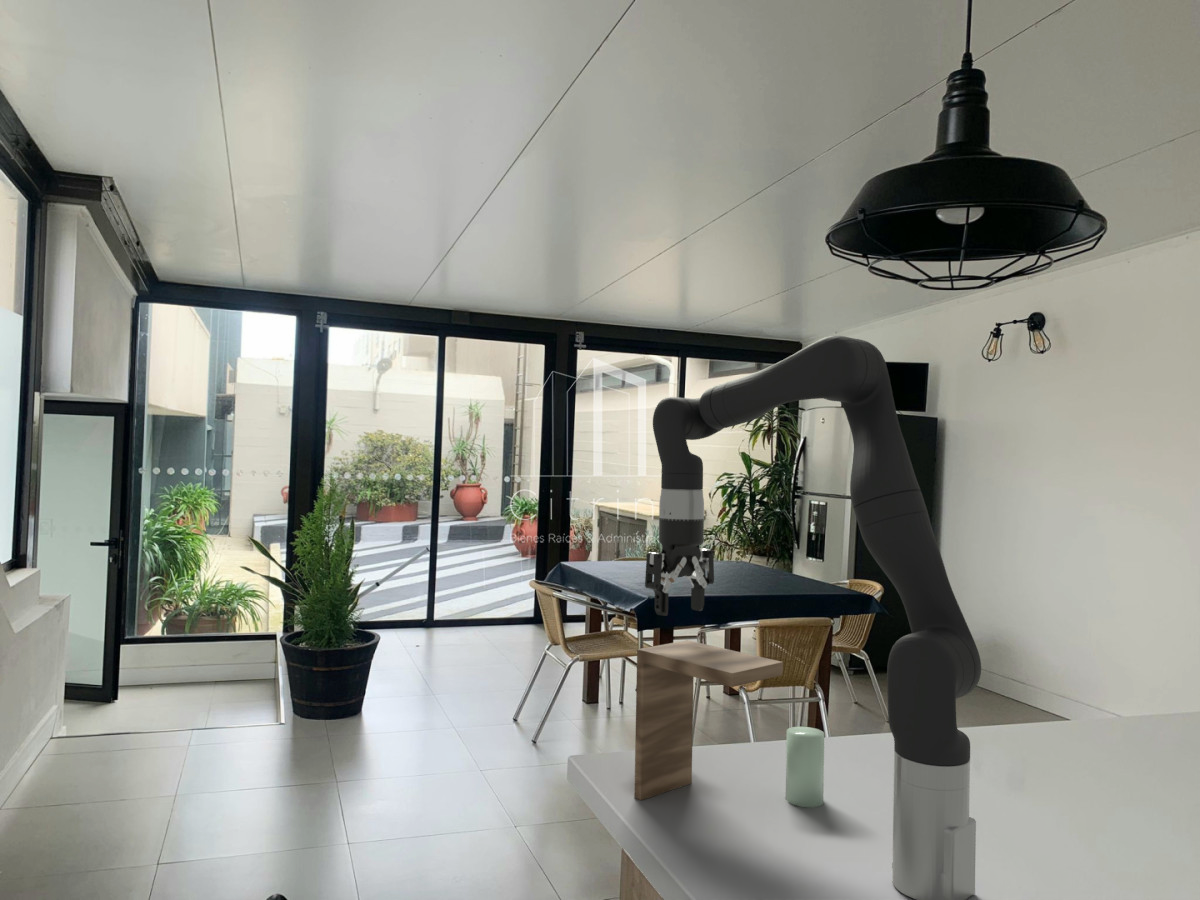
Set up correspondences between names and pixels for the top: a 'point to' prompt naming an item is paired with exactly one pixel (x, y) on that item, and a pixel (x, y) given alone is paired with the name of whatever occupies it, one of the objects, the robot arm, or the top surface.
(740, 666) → the overhanging shelf
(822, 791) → the pillar candle
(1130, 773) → the top surface
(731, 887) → the top surface
